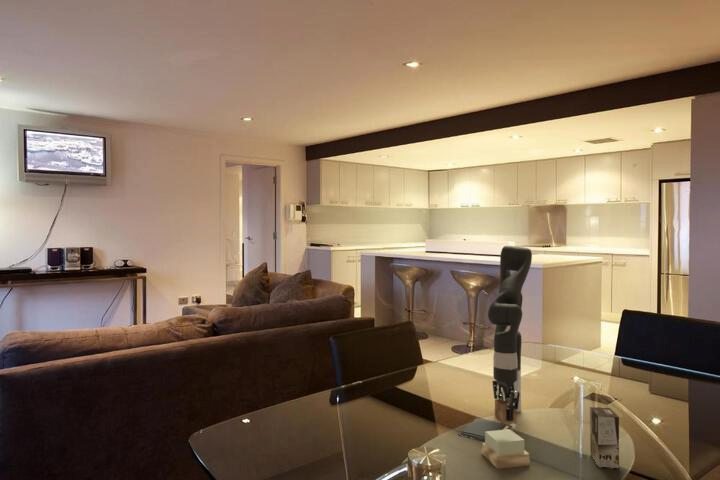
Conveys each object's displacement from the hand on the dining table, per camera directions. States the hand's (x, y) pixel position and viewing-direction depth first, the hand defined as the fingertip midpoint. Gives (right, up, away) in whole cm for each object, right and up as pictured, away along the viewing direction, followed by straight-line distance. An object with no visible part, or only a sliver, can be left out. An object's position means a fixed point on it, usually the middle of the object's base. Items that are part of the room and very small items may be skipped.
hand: (505, 417), depth 154 cm
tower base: (0, -14, 0) cm, 14 cm away
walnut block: (0, -1, 0) cm, 1 cm away
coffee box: (+31, -14, -2) cm, 34 cm away
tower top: (0, -10, 0) cm, 10 cm away
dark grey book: (-1, -15, +23) cm, 27 cm away
